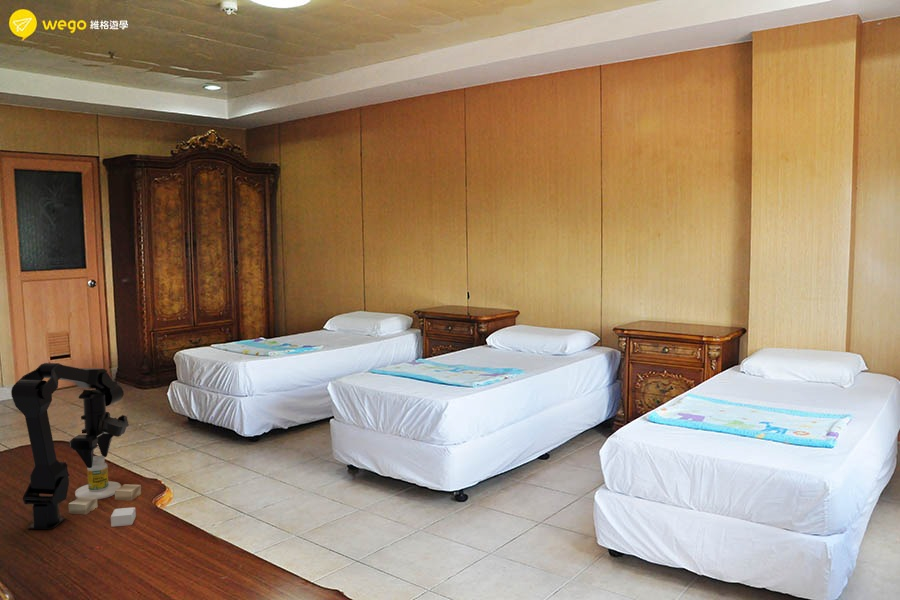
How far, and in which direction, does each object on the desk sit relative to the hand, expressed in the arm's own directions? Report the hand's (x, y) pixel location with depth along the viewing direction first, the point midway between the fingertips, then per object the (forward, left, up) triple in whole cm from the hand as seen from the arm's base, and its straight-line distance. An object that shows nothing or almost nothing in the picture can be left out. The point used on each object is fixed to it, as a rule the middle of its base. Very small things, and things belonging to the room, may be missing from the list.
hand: (97, 462), depth 199 cm
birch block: (-13, -2, -9) cm, 16 cm away
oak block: (-4, -10, -9) cm, 14 cm away
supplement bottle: (0, 0, -8) cm, 8 cm away
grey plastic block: (-21, -16, -9) cm, 28 cm away
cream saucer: (0, 0, -9) cm, 9 cm away
